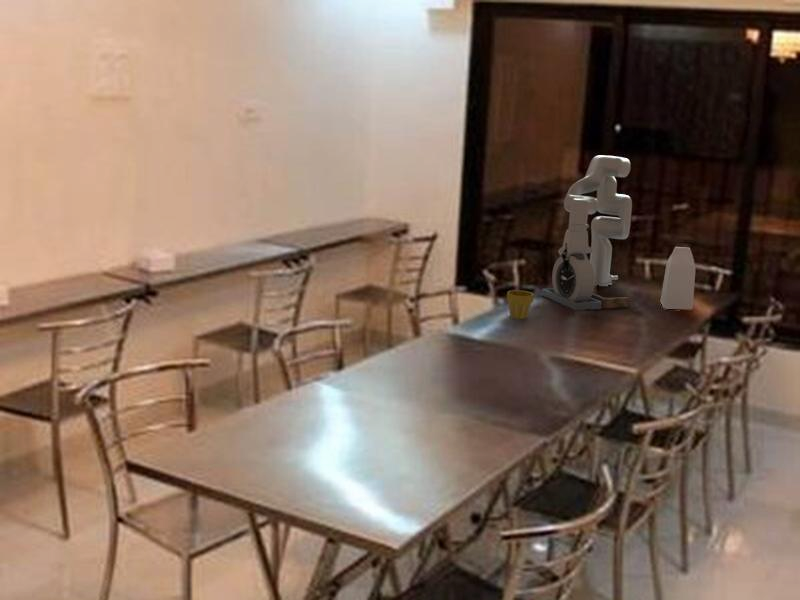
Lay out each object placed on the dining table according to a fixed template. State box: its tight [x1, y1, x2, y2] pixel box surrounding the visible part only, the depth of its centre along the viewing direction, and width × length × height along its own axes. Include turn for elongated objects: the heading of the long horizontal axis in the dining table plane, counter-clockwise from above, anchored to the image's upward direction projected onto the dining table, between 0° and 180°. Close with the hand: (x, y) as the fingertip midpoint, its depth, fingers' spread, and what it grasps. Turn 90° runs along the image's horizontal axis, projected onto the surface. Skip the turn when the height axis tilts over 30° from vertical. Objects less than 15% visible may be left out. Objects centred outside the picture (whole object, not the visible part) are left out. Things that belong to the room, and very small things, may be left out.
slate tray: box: [541, 288, 602, 311], centre depth 455 cm, size 13×27×3 cm, turn 23°
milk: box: [659, 246, 696, 310], centre depth 454 cm, size 12×12×26 cm
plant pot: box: [506, 289, 534, 320], centre depth 424 cm, size 10×10×10 cm
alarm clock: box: [551, 254, 595, 302], centre depth 453 cm, size 21×8×20 cm, turn 25°
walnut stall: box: [591, 285, 629, 309], centre depth 461 cm, size 12×25×4 cm, turn 23°
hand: (573, 268), depth 452 cm, fingers closed on alarm clock, 7 cm apart
